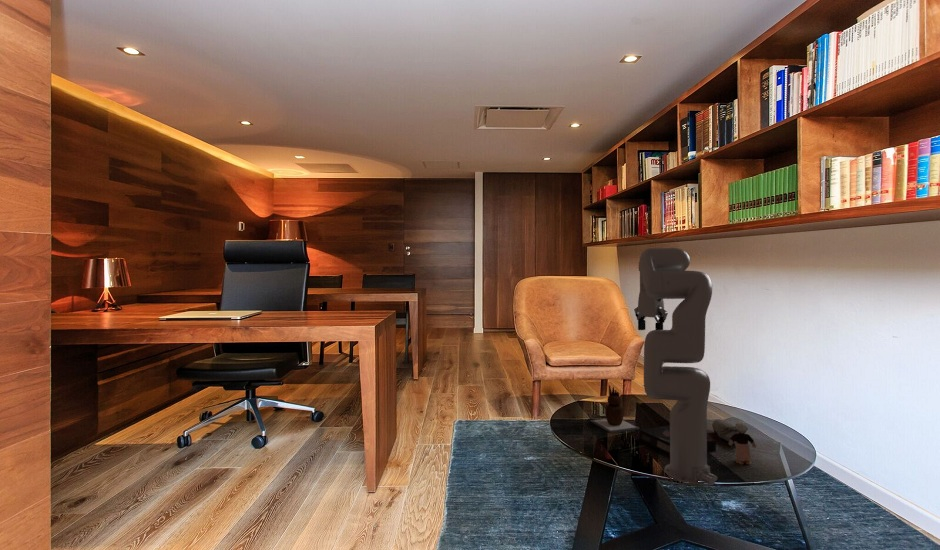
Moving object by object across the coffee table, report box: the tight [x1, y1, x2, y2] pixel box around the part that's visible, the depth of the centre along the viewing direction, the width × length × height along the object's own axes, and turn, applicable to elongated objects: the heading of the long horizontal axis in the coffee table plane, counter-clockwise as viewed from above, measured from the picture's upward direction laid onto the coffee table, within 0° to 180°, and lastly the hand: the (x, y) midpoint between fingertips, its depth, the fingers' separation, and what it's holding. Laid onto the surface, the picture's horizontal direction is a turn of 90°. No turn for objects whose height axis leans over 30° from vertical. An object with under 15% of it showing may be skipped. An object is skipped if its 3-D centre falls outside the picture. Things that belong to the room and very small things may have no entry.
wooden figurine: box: [604, 385, 625, 425], centre depth 162 cm, size 7×6×15 cm
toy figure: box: [728, 421, 757, 466], centre depth 129 cm, size 8×4×13 cm, turn 92°
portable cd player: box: [638, 424, 717, 456], centre depth 143 cm, size 16×17×4 cm
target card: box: [589, 417, 641, 434], centre depth 162 cm, size 13×13×1 cm
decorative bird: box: [711, 418, 739, 450], centre depth 146 cm, size 5×16×8 cm, turn 174°
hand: (650, 331), depth 165 cm, fingers open, 9 cm apart
